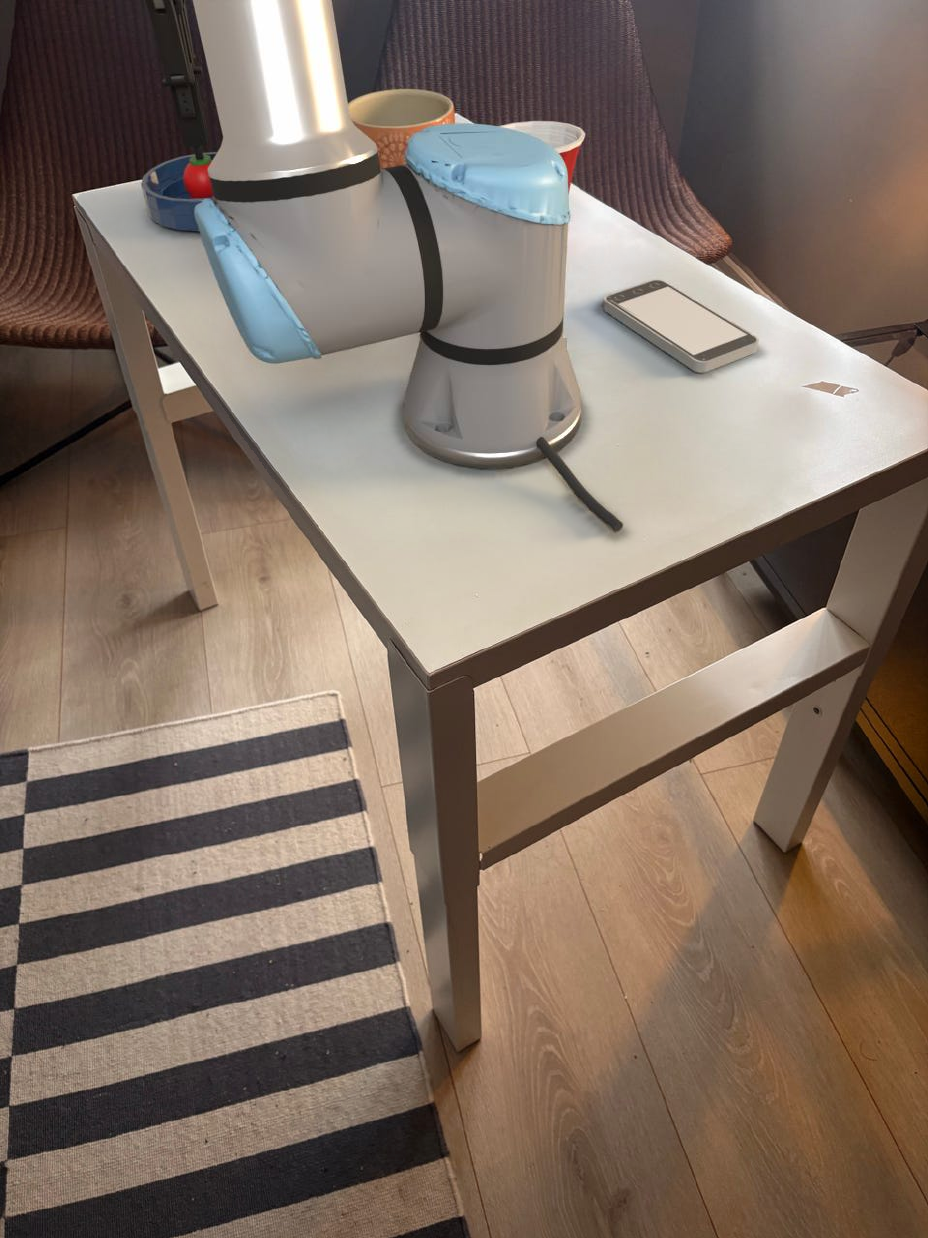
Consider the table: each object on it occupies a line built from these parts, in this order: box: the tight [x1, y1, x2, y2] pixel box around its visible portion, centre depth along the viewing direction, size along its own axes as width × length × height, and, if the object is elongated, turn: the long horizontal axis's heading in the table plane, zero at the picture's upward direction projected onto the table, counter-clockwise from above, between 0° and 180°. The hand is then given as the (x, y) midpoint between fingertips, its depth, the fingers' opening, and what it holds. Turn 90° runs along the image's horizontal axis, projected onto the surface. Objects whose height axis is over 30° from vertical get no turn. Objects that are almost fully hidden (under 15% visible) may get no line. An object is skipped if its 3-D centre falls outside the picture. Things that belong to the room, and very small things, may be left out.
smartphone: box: [603, 278, 759, 374], centre depth 97 cm, size 7×1×15 cm
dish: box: [140, 151, 218, 232], centre depth 119 cm, size 14×14×4 cm
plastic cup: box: [497, 120, 586, 195], centre depth 107 cm, size 11×11×12 cm
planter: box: [348, 88, 456, 169], centre depth 116 cm, size 12×12×11 cm
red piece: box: [183, 63, 213, 199], centre depth 115 cm, size 5×5×15 cm
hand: (196, 141), depth 115 cm, fingers closed on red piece
